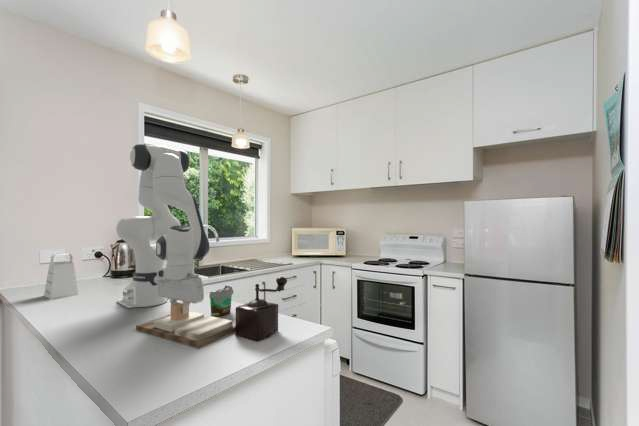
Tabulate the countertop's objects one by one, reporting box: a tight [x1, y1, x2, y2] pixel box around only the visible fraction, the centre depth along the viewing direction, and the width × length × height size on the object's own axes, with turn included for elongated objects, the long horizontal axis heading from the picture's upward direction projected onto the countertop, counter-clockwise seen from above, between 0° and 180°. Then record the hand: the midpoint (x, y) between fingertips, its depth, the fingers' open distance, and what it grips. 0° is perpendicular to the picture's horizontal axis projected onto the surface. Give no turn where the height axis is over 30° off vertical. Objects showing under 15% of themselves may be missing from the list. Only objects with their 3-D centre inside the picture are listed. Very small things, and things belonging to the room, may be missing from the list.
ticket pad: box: [135, 313, 235, 349], centre depth 103 cm, size 31×16×4 cm, turn 62°
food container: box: [208, 285, 234, 318], centre depth 121 cm, size 12×6×10 cm, turn 168°
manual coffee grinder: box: [234, 276, 288, 343], centre depth 103 cm, size 16×11×18 cm
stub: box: [154, 301, 205, 332], centre depth 105 cm, size 9×13×7 cm
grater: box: [43, 253, 79, 300], centre depth 148 cm, size 10×10×20 cm
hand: (179, 312), depth 105 cm, fingers closed on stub, 3 cm apart
